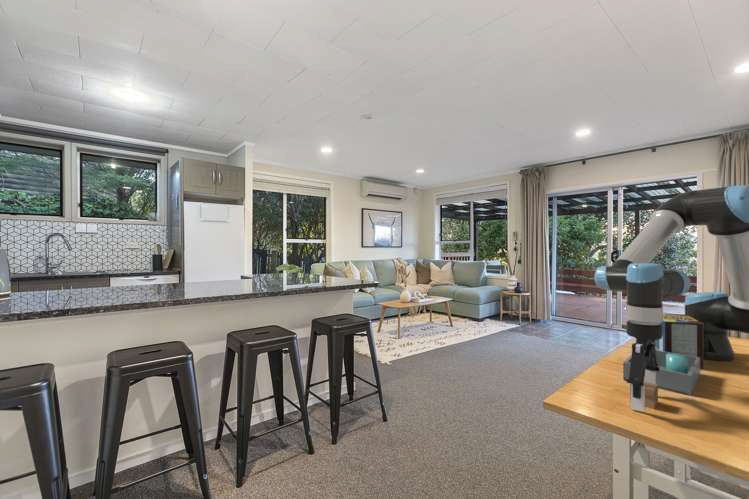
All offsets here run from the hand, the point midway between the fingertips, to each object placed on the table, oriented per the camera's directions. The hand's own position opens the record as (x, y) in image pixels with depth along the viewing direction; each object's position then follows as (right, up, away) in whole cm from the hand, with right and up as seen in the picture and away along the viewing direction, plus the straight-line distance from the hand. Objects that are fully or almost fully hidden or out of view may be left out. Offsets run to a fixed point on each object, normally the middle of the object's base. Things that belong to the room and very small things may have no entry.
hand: (643, 401), depth 93 cm
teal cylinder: (+21, +1, +14) cm, 25 cm away
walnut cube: (0, -1, 0) cm, 1 cm away
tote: (+19, 0, +17) cm, 25 cm away
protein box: (+36, +1, +32) cm, 48 cm away
